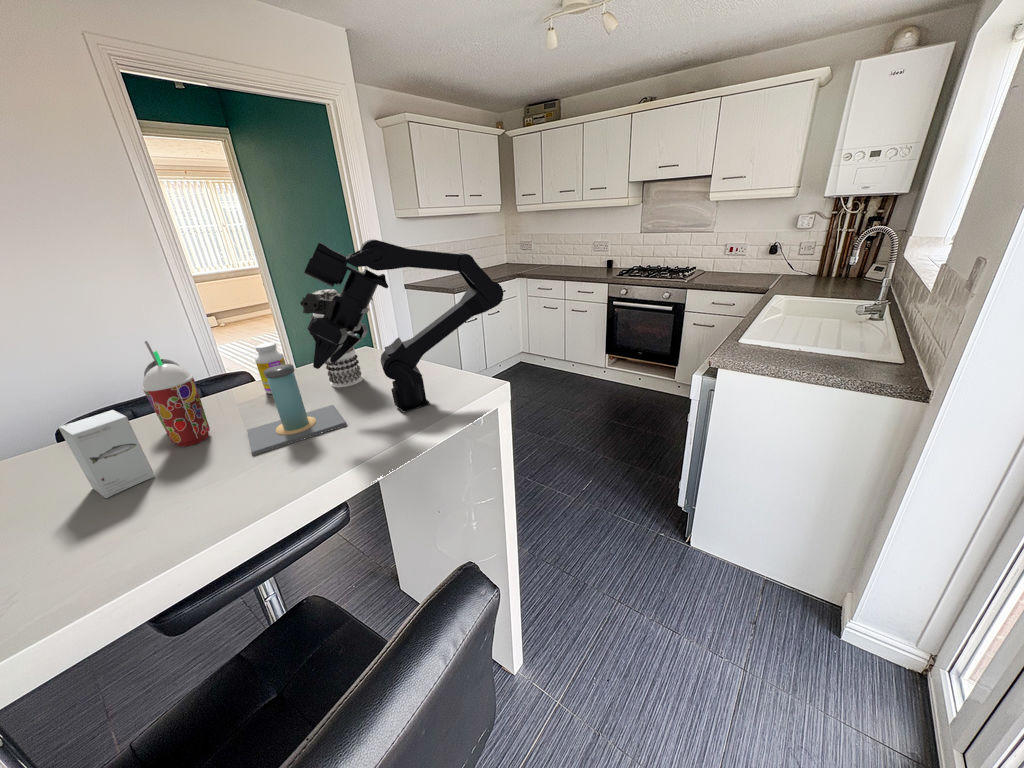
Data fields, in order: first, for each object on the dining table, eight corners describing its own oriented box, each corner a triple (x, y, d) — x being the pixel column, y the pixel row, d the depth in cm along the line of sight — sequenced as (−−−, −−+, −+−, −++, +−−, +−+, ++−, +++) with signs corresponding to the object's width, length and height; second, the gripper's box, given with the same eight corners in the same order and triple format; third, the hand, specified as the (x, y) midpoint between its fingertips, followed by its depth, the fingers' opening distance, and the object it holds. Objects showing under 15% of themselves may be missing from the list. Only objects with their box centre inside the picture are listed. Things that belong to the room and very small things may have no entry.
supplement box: (105, 500, 70) (69, 435, 65) (91, 488, 74) (56, 426, 69) (157, 476, 76) (127, 415, 71) (141, 466, 79) (112, 408, 75)
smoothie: (224, 433, 90) (190, 346, 82) (183, 453, 83) (141, 360, 75) (202, 428, 93) (166, 344, 86) (160, 446, 86) (118, 357, 79)
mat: (334, 407, 98) (333, 403, 98) (346, 425, 89) (345, 421, 89) (248, 433, 89) (246, 428, 89) (252, 455, 80) (250, 451, 80)
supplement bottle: (276, 396, 108) (261, 349, 103) (260, 393, 111) (244, 347, 106) (298, 386, 114) (284, 341, 109) (282, 384, 117) (268, 340, 112)
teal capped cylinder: (313, 417, 91) (297, 363, 87) (304, 429, 87) (287, 371, 82) (288, 420, 91) (270, 365, 86) (278, 432, 86) (258, 374, 81)
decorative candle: (347, 389, 109) (323, 294, 99) (321, 386, 112) (296, 294, 103) (371, 376, 116) (350, 287, 107) (346, 374, 120) (324, 287, 110)
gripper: (334, 281, 92) (306, 343, 94) (297, 275, 74) (264, 351, 76) (380, 305, 94) (352, 365, 96) (355, 304, 76) (321, 379, 78)
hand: (324, 364), depth 86 cm, fingers open, 9 cm apart
